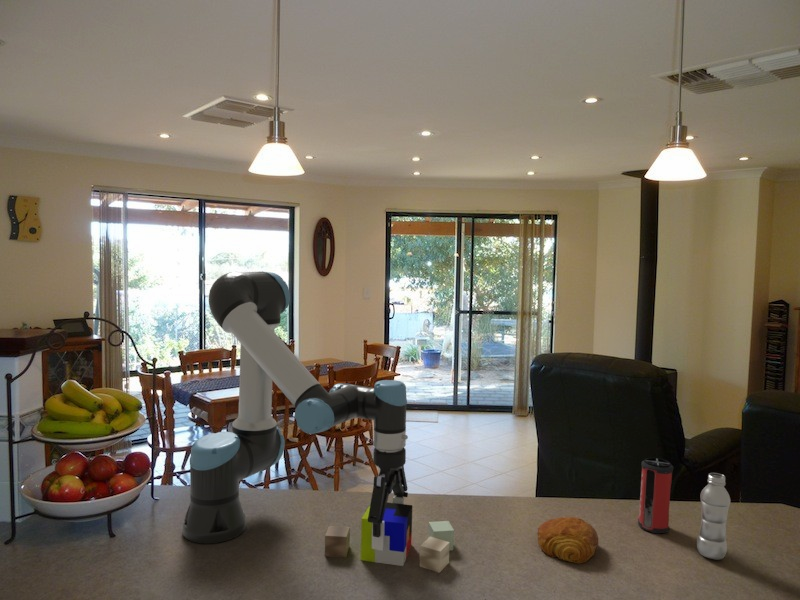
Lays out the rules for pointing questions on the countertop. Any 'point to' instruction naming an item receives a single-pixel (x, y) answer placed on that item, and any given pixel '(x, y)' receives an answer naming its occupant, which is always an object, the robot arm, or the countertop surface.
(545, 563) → the countertop surface
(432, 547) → the maple block
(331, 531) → the brown wooden cube
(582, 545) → the croissant
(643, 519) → the speaker
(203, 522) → the robot arm
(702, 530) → the plastic bottle
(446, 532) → the sage painted block
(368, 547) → the puzzle toy
